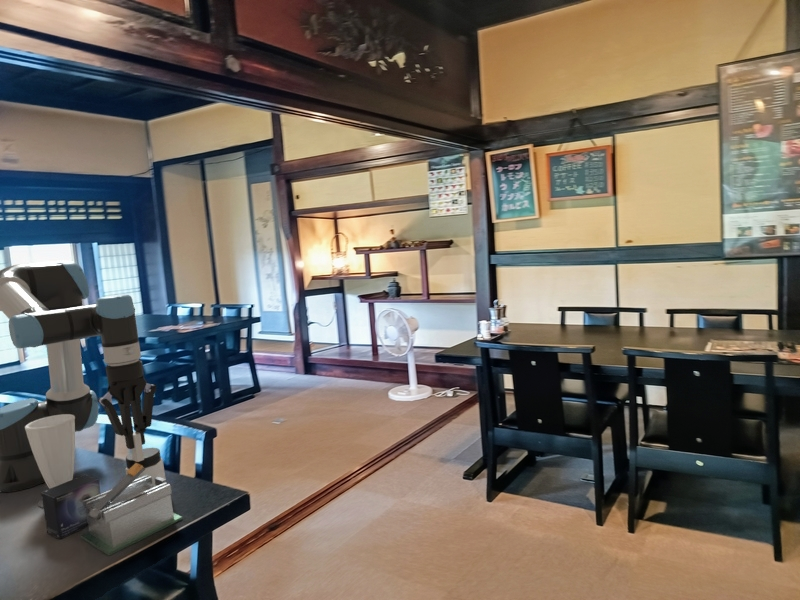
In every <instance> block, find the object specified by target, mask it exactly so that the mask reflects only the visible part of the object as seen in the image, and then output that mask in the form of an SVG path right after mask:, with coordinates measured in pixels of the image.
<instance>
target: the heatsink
mask: <svg viewBox="0 0 800 600" xmlns="http://www.w3.org/2000/svg"><path fill="white" fill-rule="evenodd" d="M155 485H156V487H152V486H153V483H152V477H151V476H148V475H145V476H143V477H141V478H138V479H136V480H134V481H133V482H132V483H131V484H130V485H129V486H128V487H127V488H126V489H125V490H124V491H123V492H122V493H121V494H120V495H119V496H118V497H117V498H116V499H115V500H114V501H113V502H112V503H111V504H110V505H109V506H108V507H107V508H105V509H102V510H100V515H101V519H99V520H96V519H95V520H94V519H92V518H91V517H89V516H88V515H87V520H88V526H87V527H88V531H87V532H85V533H83V534H81V535H80V538H81V540H83V541H85V542H87V543H88V544H89V545H91V546H93V547H95V548H96V549H98V550H99V551H101V552H102V553H104V554H105V555H108V556H112V555H114V554H116V553H117V552H120V551H121V550H123V549H126V548H128V547H129V546H131V545H134V544H136V543H137V542H139V541H142V540H143V539H146V538H148V537H150V536H151V535H154V534H156V533H157V532H159V531H162V530H163V529H166V528H167V527H169V526H171V525H174V524H176V523H178V522H180V521H182V520H183V516H181V515H179V514H177V513H175V512H174V510H173V502H172V496H171V495H172V493H173V492H172V486H171V484H170V483H167V479H166V478H165V479H164V478H161V477H159V476H158V477H156V478H155ZM112 489H113V488H111V489H109V490H107V491H104V492H102V493H101V492H100V494H99V495H96V496H94V497H91V498H89V499H87V500H84V501H83V507H84V511H86V509H87V508H88V507H90V506H92V507H94V506H95V505H96V504H97V503H98V502H99V501H100V500H101V499H102V498H103V497H104V496H105V495H106V494H107V493H108V492H109V491H110V490H112Z"/></svg>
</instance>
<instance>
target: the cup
mask: <svg viewBox="0 0 800 600" xmlns="http://www.w3.org/2000/svg"><path fill="white" fill-rule="evenodd" d="M74 419H75V416H74V415H71V414H62V415H54V416H50V417H45V418H42V419H38V420H35V421H33V422H31V423H29V424H27V425H26V426H25V430H26V433H27V437H28V440H29V443H30V446H31V449H32V452H33V455H34V457H35V460H36V462H37V465H38V467H39V470H40V472H41V474H42V476H43V478H44V480H45V482H44V483H45V484H46V485H47V488H48V489H50V488H53V487H55V486H58V485H60V484H63V483H65V482H68V481H70V480H73V479H74V472H75V471H74V469H75V460H76V459H75V457H76V432H75V420H74ZM37 505H38V507H39V508H42V509H44V507H43V500H42V498H41V499H40V500H39V501H38V503H37Z"/></svg>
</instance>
